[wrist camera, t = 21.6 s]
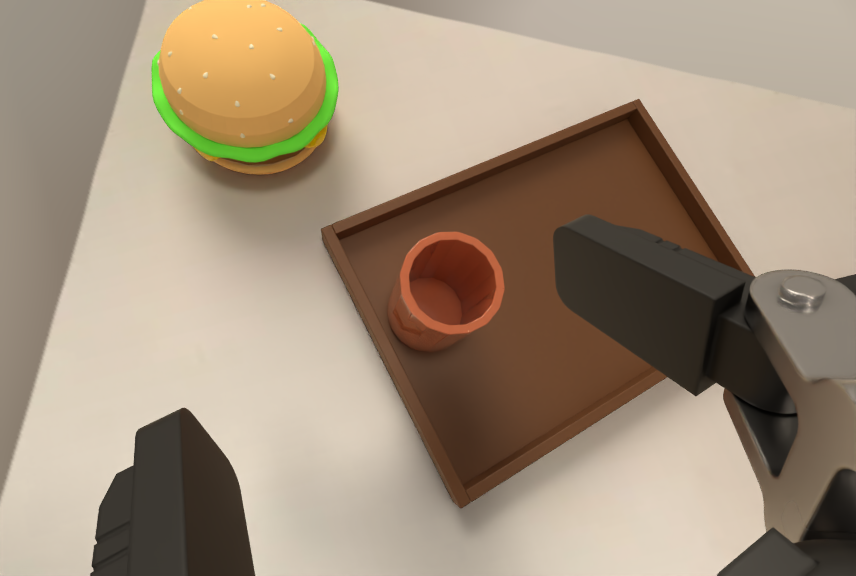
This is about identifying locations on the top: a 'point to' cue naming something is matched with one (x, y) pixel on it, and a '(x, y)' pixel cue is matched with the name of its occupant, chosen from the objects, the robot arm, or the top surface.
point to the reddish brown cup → (444, 291)
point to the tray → (523, 291)
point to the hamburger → (245, 85)
